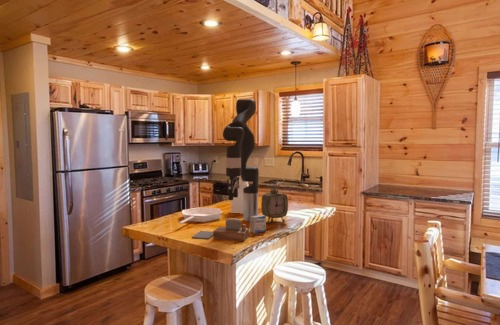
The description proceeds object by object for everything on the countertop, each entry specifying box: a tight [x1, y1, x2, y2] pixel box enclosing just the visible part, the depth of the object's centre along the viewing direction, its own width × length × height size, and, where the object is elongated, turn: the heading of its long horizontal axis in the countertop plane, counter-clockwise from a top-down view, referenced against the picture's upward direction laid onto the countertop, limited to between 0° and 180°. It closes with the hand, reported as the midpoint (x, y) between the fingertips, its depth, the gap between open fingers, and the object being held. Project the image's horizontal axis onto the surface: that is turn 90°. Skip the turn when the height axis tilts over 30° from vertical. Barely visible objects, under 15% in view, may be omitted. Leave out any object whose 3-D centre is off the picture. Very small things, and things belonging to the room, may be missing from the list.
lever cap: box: [225, 217, 242, 231], centre depth 170 cm, size 4×7×6 cm, turn 77°
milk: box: [230, 176, 250, 215], centre depth 232 cm, size 12×12×26 cm
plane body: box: [212, 223, 250, 242], centre depth 171 cm, size 10×16×7 cm, turn 77°
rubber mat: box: [191, 230, 213, 240], centre depth 174 cm, size 12×9×1 cm
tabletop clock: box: [260, 180, 289, 225], centre depth 204 cm, size 14×9×25 cm, turn 117°
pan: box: [178, 206, 223, 225], centre depth 206 cm, size 28×41×4 cm
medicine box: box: [249, 214, 267, 234], centre depth 182 cm, size 8×4×9 cm, turn 126°
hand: (233, 198), depth 169 cm, fingers open, 8 cm apart
